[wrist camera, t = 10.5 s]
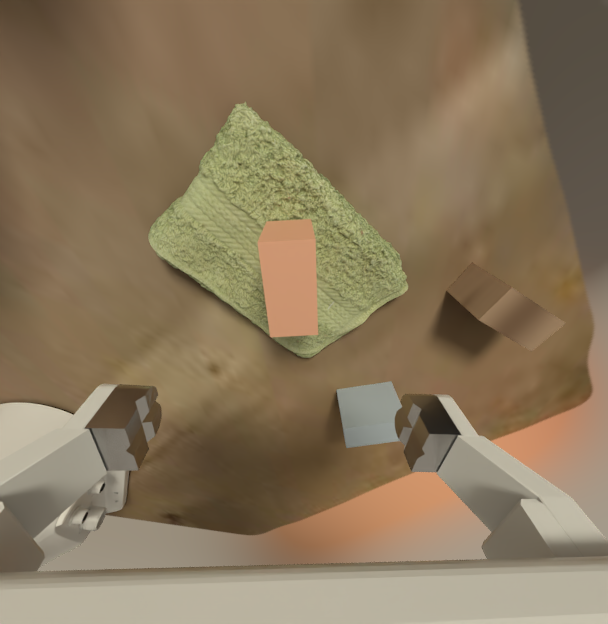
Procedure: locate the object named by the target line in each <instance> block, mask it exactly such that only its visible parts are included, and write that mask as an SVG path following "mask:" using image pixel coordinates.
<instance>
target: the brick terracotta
mask: <svg viewBox="0 0 608 624" xmlns="http://www.w3.org/2000/svg"><path fill="white" fill-rule="evenodd" d="M257 243H258V251H259V258H260V265H261V273H262V280H263V288H264V295H265V302H266V310H267V317H268V325H269V332H270V337H288V336H306V335H318V311H317V274H316V239H315V234H314V230H313V226H312V221H311V219H302V220H283V221H266V224H265V226H264V228H263V231H262V233H261V235H260V237H259V240H258V242H257Z"/></svg>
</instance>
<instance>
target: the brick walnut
mask: <svg viewBox="0 0 608 624" xmlns="http://www.w3.org/2000/svg"><path fill="white" fill-rule="evenodd" d="M447 292H448V293H449V294H451V295H452V296H453V297H454V298H455V299H456V300H457V301H458V302H459V303H460V304H461V305H463V306H464V307H465V308H466V309H467V310H468V311H469V312H470V313H471V314H472V315H473V316H475V317H476V318H477V319H478V320H479V321H481V322H483V323H484V324H486V325H488V326H489V327H491V328H493V329H494V330H496V331H498V332H500V333H501V334H503V335H505V336H506V337H508V338H510V339H511V340H513V341H515V342H516V343H518V344H520V345H522V346H523V347H525V348H527V349H528V350H530V351H533V350H534V349H535V348H536V347H538V346H539V345H540V344H541V343H542V342H544V341H545V340H546V339H547V338H549V337H550V336H551V335H552V334H553V333H555V332H556V331H557V330H558V329H560V328H561V327H562V326H563V325H564V324H566V323H565V322H563V321H562V320H560V319H559V318H557V317H556V316H554V315H553V314H551V313H550V312H548V311H547V310H545V309H544V308H542V307H541V306H539V305H538V304H536V303H535V302H533V301H532V300H530V299H529V298H527V297H526V296H524V295H523V294H521V293H520V292H518V291H517V290H515V289H514V288H512V287H511V286H509V285H507V284H506V283H504V282H503V281H501V280H499V279H498V278H496V277H495V276H493V275H491V274H490V273H488V272H487V271H485V270H483V269H482V268H480V267H478V266H477V265H475V264H474V263H471V264H470V265H469V267H468V268H467V269H466V270H465V271H464V272H463V273H462V274H461V275H460V276H459V278H458V279H457V280H456V281H455V282H454V283H453V284H452V285H451V286H450V287H449V289H448V290H447Z"/></svg>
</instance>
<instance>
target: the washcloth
mask: <svg viewBox="0 0 608 624" xmlns="http://www.w3.org/2000/svg"><path fill="white" fill-rule="evenodd" d="M302 219H311V221H312V226H313V230H314V234H315V239H316V274H317V311H318V335H306V336H288V337H272V338H273V340H275V341H276V342H277V343H279V344H281V345H283V346H284V348H287V349H288V351H290V350H291V351H293V352H294V353H295V354H297V356H301V357H303V358H311V357H312V356H314V355H316V354H317V353H318V352H320V351H321V350H322V349H323V348H324V347H326V346H327V345H329V344H331V343H332V342H334V341H335V340H337V339H339V338H340V337H341V336H343V335H345V334H346V333H348V332H350V331H351V330H353V329H354V328H356V327H358V326H359V325H361V324H363V323H364V322H365V321H366V320H367V318H368V317H369V316H370V314H372V313H373V312H374V311H375V310H376V309H378V308H379V307H381V306H382V305H384V304H385V303H386V302H388V301H390V300H392V299H394V298H396V297H398V296H400V295H402V294H404V293H405V291H407V290H408V284H407V282H406V278H407V276H406V275H405V272H403V271H402V267H401V263H402V262H401V260H400V256H399V253H398V252H397V251H396V250H395V249H394V248H393V247H392V245H391V243H389V242H386V240H383V239H382V238H381V237H380V235H379V234H378V232H377V231H376V230H375V229H374V228H373V227H372V226H371V225H369V224H368V222H367V221H366V219H365V218H362V216H361V214H359V213H357V212H356V211H355V209H354V207H353V206H352V205H351V204H349V202H347V201H346V199H345V198H344V196H343V195H341V194H340V193H339V192H338V190H335V187H332V185H331V183H330V181H329V180H328V179H327V178H325V177H324V176H323V175H322V174H318V173H317V171H316V170H315V169H314V167H313V165H312V163H310V162H309V161H308V160H307V159H303V156H302V154H301V153H300V152H299V151H298V150H297V149H295V148H294V147H293V145H292V144H291V143H289V142H288V141H287V140H286V139H285V138H284V137H283V136H282V135H281V134H280V133H278V132H277V131H275V130H273V129H272V128H271V127H270V125H269V123H268V122H267V121H265V122H264V121H263V120H261V119H260V117H259V115H258V114H257V113H256V112H255V111H253V110H252V108H249V107H248V106H247V104H246V101H245V103H243V104H236V105H235V108H234V109H233V111H232V113H231V114H230V116H228V119H227V122H226V123H225V125H224V126H223V127H222V128H221V130H220V132H219V134H217V135H216V141H215V144H214V147H213V148H211V149H210V151H208V152H207V153H206V154H205V155H204V157H203V159H202V160H201V161H200V166H199V174H198V175H197V176H196V177H195V178H194V180H193V182H192V183H191V184H190V186H189V188H188V189H187V191H186V192H185V194H184V195H183V197H179V198H178V199H176V201H175V202H173V203H172V204H171V206H170V207H169V208H168V209H167V210H166V211H165V212H164V213H163V214H162V215H161V216H160V217H159V218H158V219H157V220H156V222H155V223H154V224H153V225H152V226H151V227H150V232H149V235H148V238H149V242H150V244H151V246H152V248H153V249H154V250H155V251H156V253H157V255H158V256H159V257H160V258H161V259H162V260H166V261H167V262H168V263H169V264H170V265H171V266H173V267H174V268H177V269H180V270H181V271H182V272H185V273H186V274H188V275H189V276H190V277H191V278H193V279H194V280H195V281H197V282H198V283H200V284H201V286H202V287H204V288H206V289H207V290H208V291H211V292H212V293H215V295H216V296H217V297H218V298H220V299H221V300H222V301H224V302H225V303H228V304H229V305H231V306H232V307H233V308H234V309H235V310H236V311H237V312H238V313H240V314H242V315H243V316H246V317H247V318H249V319H250V320H251V321H252V323H253V324H256V325H257V326H259V327H260V328H261V329H263V330H264V331H265V332H266V334H268V336H270V332H269V325H268V317H267V310H266V302H265V295H264V288H263V280H262V273H261V265H260V258H259V251H258V243H257V242H258V240H259V237H260V235H261V233H262V231H263V228H264V226H265V224H266V221H283V220H302Z"/></svg>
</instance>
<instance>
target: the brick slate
mask: <svg viewBox="0 0 608 624" xmlns="http://www.w3.org/2000/svg"><path fill="white" fill-rule="evenodd" d="M337 396H338V402H339V408H340V414H341V420H342V426H343V431H344V437H345V443H346V448H350V447H358V446H365V445H372V444H380V443H387V442H395V441H400V440H399V439H398V437H397V434H396V430H395V415H396V412H397V411H398V410H399V409H400V408H402V406H401V403H400V401H399V399H398V396H397V394H396V391H395V389H394V387H393V384H392V382H384V383H378V384H371V385H365V386H358V387H351V388H345V389H338V390H337Z"/></svg>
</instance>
